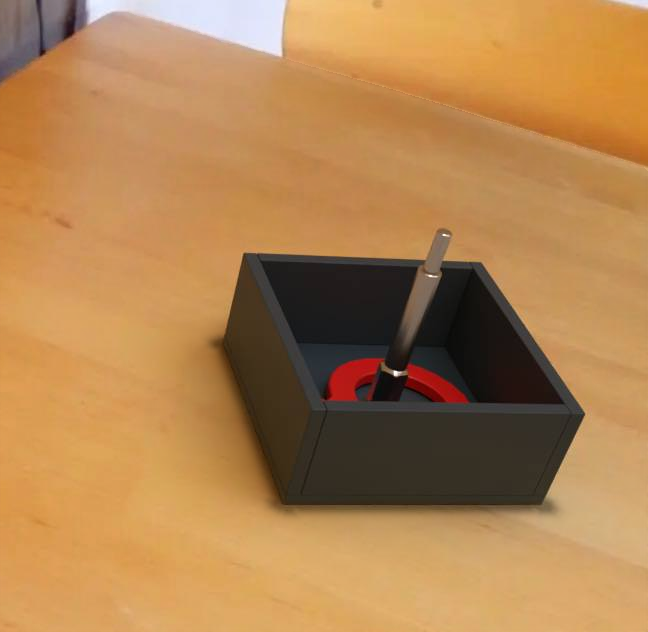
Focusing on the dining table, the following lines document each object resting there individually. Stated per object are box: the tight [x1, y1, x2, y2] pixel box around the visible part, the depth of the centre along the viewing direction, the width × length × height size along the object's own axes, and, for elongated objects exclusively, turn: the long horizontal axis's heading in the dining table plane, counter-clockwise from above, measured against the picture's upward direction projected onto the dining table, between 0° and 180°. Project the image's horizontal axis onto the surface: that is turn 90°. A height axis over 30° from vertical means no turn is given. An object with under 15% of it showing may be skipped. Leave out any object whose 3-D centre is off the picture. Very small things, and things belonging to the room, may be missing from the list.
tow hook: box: [322, 227, 469, 403], centre depth 67 cm, size 8×13×9 cm
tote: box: [222, 252, 586, 505], centre depth 69 cm, size 15×15×6 cm
